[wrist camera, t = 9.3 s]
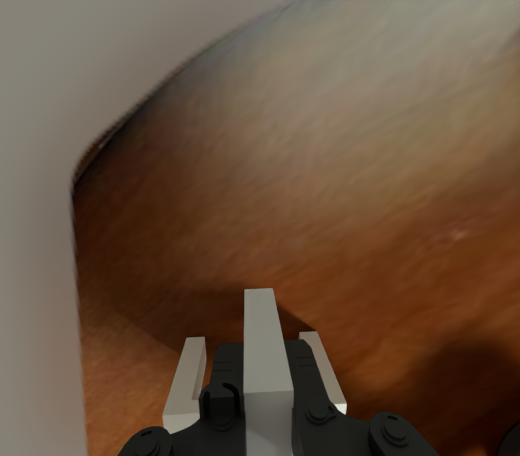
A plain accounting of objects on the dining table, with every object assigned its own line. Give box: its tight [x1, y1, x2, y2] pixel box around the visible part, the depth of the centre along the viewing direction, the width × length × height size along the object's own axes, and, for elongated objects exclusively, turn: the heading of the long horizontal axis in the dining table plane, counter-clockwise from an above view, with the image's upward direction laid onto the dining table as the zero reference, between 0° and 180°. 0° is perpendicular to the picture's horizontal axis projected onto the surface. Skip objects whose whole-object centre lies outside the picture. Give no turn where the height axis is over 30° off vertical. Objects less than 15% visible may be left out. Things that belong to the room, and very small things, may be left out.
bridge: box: [162, 331, 347, 434], centre depth 26 cm, size 3×15×9 cm, turn 91°
